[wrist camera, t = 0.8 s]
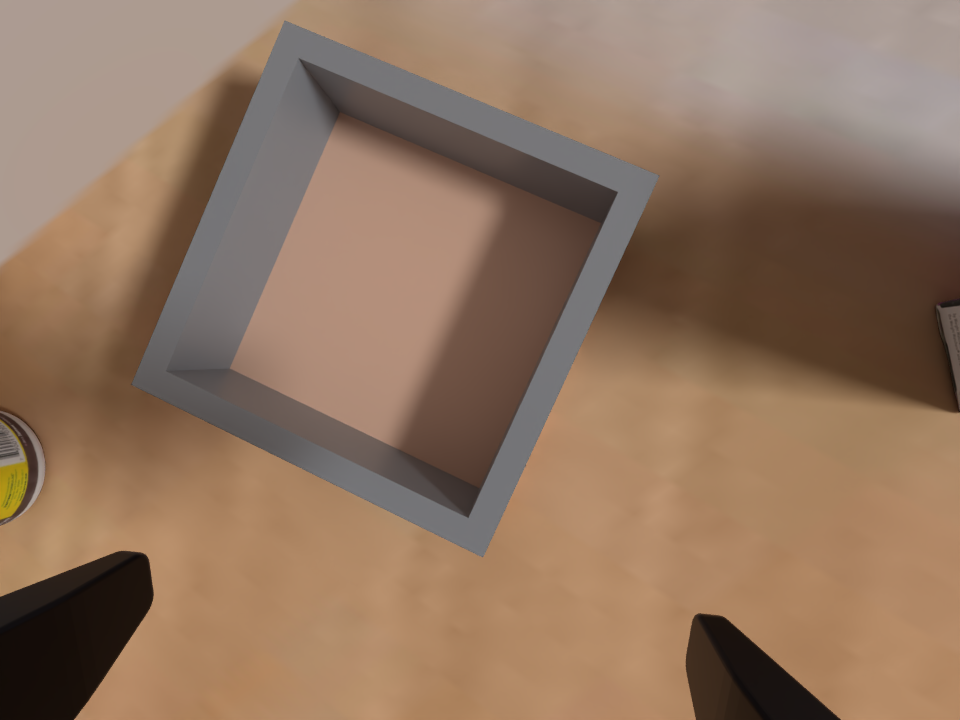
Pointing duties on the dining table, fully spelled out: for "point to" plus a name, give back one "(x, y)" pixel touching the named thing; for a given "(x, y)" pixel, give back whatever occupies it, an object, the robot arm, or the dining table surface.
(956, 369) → the candy bar box
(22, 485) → the supplement bottle
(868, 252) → the dining table surface
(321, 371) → the walled box
